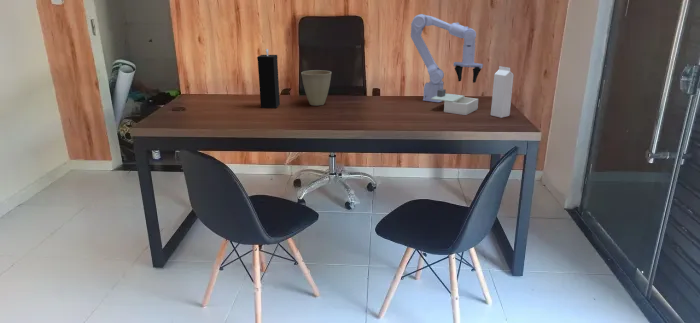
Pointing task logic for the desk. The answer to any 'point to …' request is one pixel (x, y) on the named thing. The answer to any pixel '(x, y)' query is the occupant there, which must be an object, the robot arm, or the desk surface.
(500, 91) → the milk
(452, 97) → the lid
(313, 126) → the desk surface
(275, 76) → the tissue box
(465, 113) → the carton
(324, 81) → the plant pot
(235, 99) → the desk surface
